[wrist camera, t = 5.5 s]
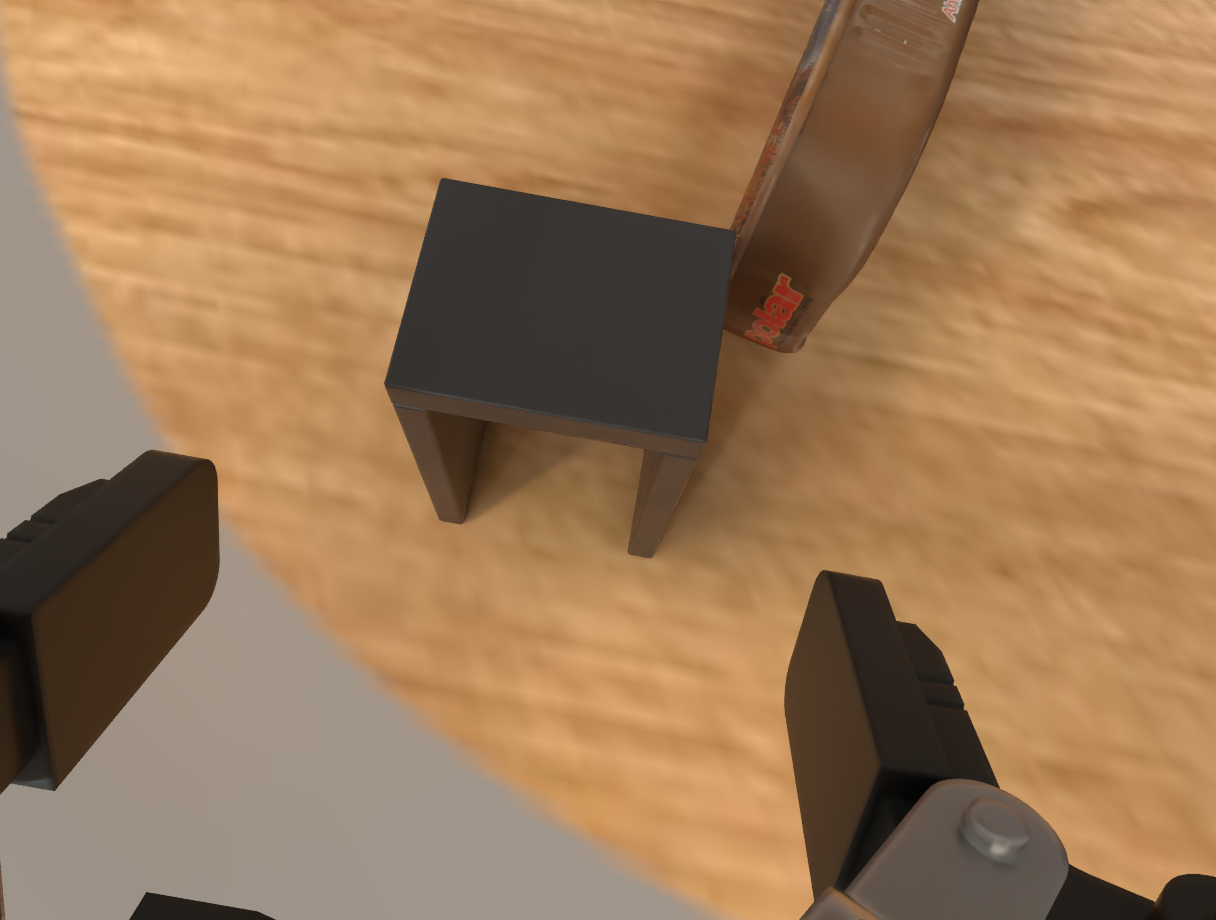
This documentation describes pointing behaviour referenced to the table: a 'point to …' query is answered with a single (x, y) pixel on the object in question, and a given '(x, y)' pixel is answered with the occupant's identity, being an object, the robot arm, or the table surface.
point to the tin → (839, 159)
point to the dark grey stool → (560, 338)
